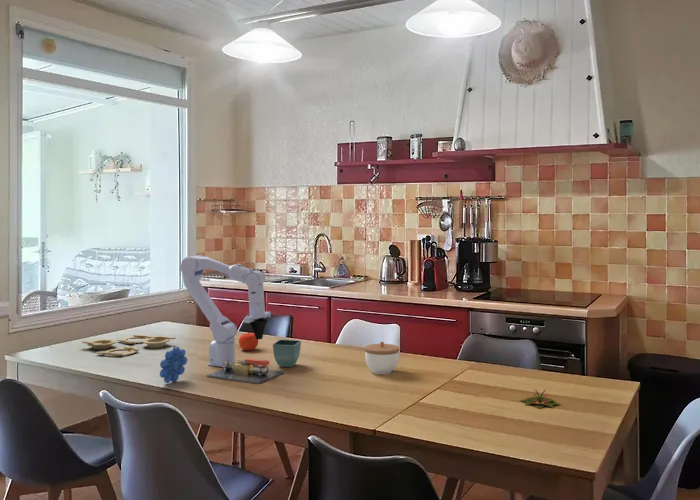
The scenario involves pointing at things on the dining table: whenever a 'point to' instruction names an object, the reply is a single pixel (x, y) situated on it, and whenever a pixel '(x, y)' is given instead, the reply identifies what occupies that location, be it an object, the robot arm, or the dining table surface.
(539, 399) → the lily flower
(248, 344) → the apple
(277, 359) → the flower pot
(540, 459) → the dining table surface
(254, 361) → the lever
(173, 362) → the grapes
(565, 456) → the dining table surface
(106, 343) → the tableware set
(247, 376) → the valve body
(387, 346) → the lidded bowl
